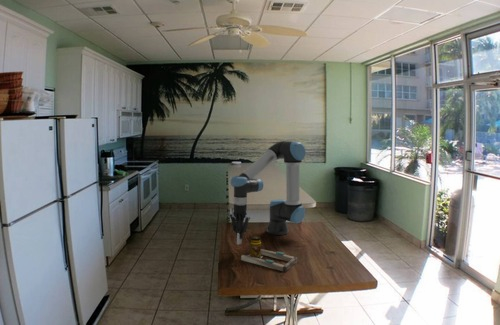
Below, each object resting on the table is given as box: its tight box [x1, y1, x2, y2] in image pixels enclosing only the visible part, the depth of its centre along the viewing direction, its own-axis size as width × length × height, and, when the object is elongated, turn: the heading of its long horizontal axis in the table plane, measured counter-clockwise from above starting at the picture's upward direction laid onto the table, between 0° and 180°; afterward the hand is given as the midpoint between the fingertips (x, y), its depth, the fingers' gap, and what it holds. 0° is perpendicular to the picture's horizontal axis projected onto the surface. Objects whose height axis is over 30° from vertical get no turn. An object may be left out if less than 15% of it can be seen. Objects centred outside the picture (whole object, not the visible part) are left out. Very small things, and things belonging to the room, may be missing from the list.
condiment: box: [247, 235, 265, 259], centre depth 180 cm, size 7×8×12 cm
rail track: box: [240, 248, 298, 273], centre depth 176 cm, size 15×27×3 cm, turn 59°
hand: (239, 243), depth 185 cm, fingers closed
